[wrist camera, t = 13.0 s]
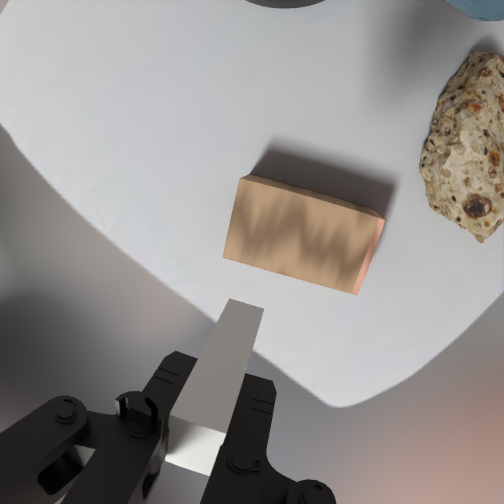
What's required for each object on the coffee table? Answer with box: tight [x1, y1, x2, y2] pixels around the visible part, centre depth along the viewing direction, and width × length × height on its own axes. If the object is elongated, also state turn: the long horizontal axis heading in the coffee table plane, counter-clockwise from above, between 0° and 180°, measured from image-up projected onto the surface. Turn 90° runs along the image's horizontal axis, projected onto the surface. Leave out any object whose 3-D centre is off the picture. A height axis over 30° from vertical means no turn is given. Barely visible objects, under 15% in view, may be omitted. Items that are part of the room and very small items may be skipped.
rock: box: [419, 51, 504, 243], centre depth 24 cm, size 21×14×10 cm
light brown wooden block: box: [223, 174, 385, 295], centre depth 31 cm, size 8×5×14 cm
